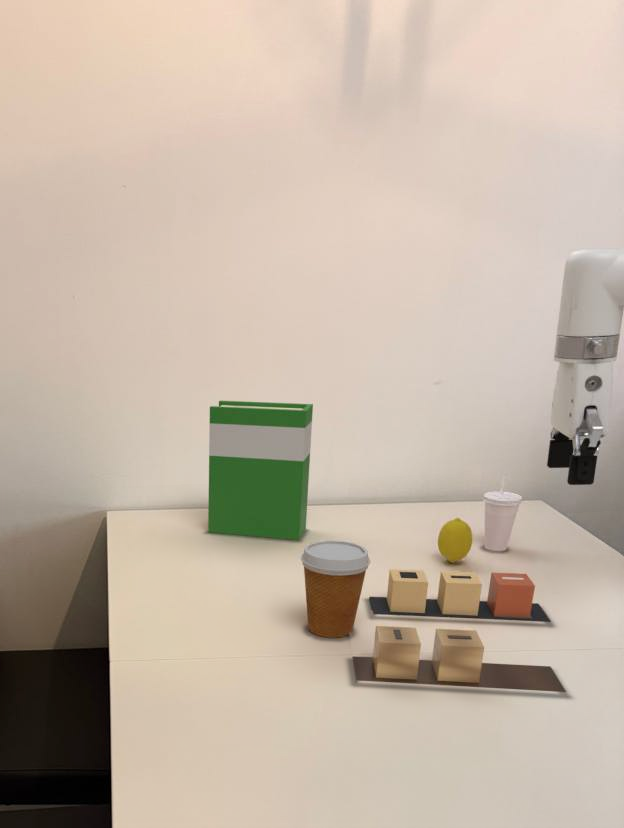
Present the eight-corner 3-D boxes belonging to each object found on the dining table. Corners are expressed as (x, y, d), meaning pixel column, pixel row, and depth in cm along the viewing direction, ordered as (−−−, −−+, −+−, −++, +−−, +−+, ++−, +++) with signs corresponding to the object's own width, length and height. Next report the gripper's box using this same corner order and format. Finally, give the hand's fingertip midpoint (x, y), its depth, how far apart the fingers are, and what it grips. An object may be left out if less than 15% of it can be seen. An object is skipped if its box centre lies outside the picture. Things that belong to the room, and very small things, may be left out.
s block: (521, 604, 131) (526, 573, 129) (529, 617, 126) (535, 585, 124) (486, 603, 132) (491, 571, 130) (493, 616, 127) (498, 583, 125)
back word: (538, 605, 132) (543, 571, 129) (550, 624, 125) (557, 588, 123) (369, 598, 135) (372, 565, 133) (373, 616, 129) (376, 581, 127)
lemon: (448, 555, 153) (453, 511, 150) (475, 563, 149) (482, 518, 146) (428, 561, 150) (433, 517, 147) (456, 570, 146) (462, 525, 143)
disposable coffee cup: (356, 647, 119) (363, 565, 114) (288, 636, 123) (293, 556, 118) (370, 622, 127) (377, 544, 122) (306, 612, 131) (311, 536, 126)
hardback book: (208, 532, 168) (209, 406, 159) (217, 521, 174) (220, 400, 165) (299, 540, 162) (306, 411, 153) (305, 528, 169) (312, 404, 160)
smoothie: (504, 541, 160) (515, 466, 154) (520, 552, 154) (533, 475, 149) (470, 542, 159) (480, 468, 154) (485, 554, 154) (496, 476, 148)
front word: (550, 669, 112) (557, 630, 110) (565, 694, 106) (573, 653, 104) (352, 658, 116) (355, 621, 114) (356, 683, 109) (359, 643, 107)
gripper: (641, 355, 106) (619, 491, 113) (594, 341, 122) (578, 461, 129) (576, 357, 108) (558, 491, 114) (538, 343, 123) (524, 462, 130)
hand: (569, 475), depth 121 cm, fingers open, 9 cm apart
